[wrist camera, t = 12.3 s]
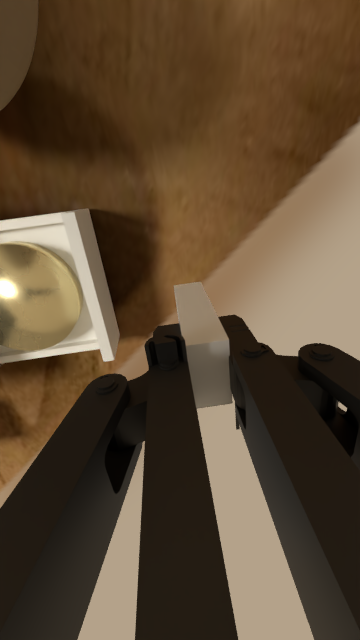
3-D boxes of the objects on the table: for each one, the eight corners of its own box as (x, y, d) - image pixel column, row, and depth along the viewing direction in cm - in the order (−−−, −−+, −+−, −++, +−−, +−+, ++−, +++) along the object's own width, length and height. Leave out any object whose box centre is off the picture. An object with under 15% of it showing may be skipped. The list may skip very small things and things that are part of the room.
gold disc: (97, 328, 23) (93, 337, 21) (2, 350, 23) (-8, 360, 21) (59, 229, 19) (52, 232, 18) (-53, 255, 19) (-69, 260, 18)
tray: (-47, 360, 24) (-82, 389, 20) (-118, 236, 20) (-179, 246, 16) (119, 335, 24) (114, 360, 21) (88, 208, 20) (74, 211, 16)
